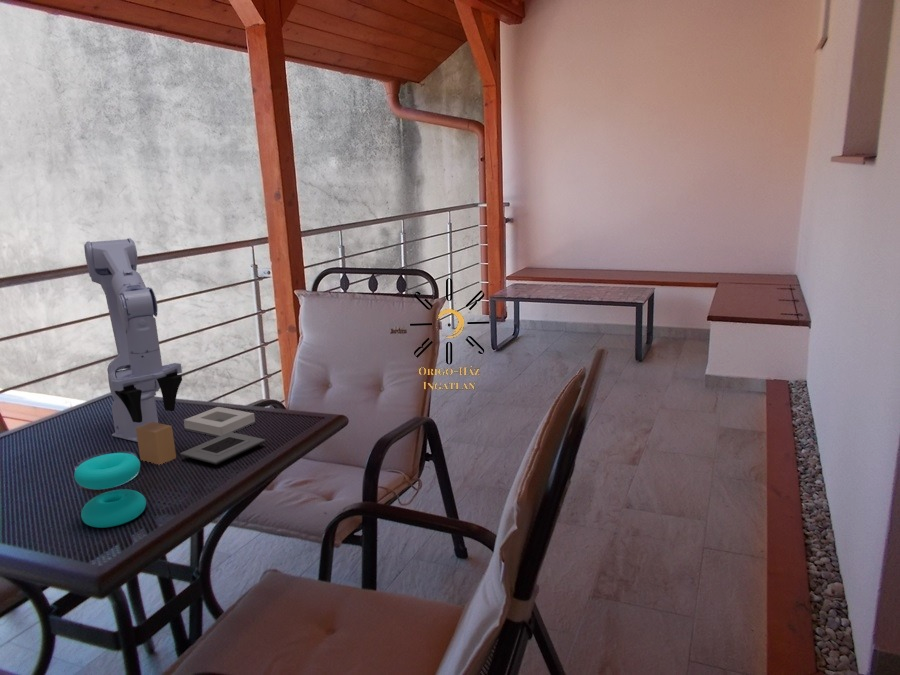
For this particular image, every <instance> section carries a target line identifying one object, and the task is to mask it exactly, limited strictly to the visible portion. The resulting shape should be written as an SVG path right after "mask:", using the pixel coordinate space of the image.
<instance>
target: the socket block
mask: <svg viewBox="0 0 900 675" xmlns="http://www.w3.org/2000/svg"><path fill="white" fill-rule="evenodd" d="M255 418H256V415H255V413H254V412H249V411H242V410H240V409H239V410H238V409H233V408H232V409H231V408H228V407H227V408H226V407H222V406H216V407H214V408H211V409H208V410H206V411H203V412H200V413H198V414H196V415H193V416H190V417H187V418H185V419H183V426H184V431H188V432H192V433H195V434H200V435H201V434H202V435H205V434H206V436H210V437H214V438H217V437H219V436H222V435H224V434H226V433H229V432H235V433H237V432H239V431H241V429H242V430H244V429H246V428H248V426H249V427H251V426H253V425H255V424H256V419H255ZM250 425H251V426H250ZM245 427H246V428H245ZM243 428H244V429H243ZM238 430H239V431H238ZM236 431H237V432H236Z"/></svg>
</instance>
